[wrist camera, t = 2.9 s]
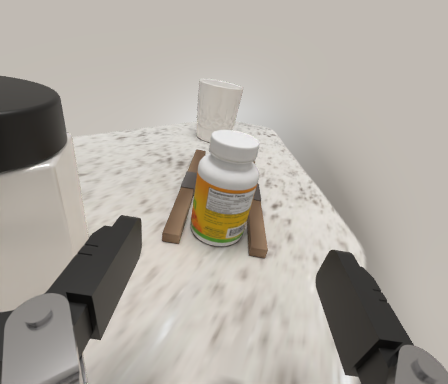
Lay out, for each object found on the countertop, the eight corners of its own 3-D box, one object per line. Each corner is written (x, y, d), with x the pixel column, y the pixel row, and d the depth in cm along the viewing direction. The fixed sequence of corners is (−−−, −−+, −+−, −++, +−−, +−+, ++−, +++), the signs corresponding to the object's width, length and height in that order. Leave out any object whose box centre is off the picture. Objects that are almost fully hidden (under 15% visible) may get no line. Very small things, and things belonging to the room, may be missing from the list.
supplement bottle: (197, 208, 27) (209, 122, 21) (244, 218, 26) (267, 134, 21) (183, 240, 22) (195, 141, 17) (240, 253, 22) (269, 157, 17)
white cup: (221, 130, 52) (230, 81, 47) (239, 145, 46) (251, 90, 41) (187, 130, 48) (192, 76, 43) (202, 145, 43) (210, 86, 37)
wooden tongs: (161, 240, 21) (161, 231, 21) (195, 155, 38) (196, 148, 38) (265, 258, 22) (268, 249, 21) (253, 165, 39) (254, 159, 38)
